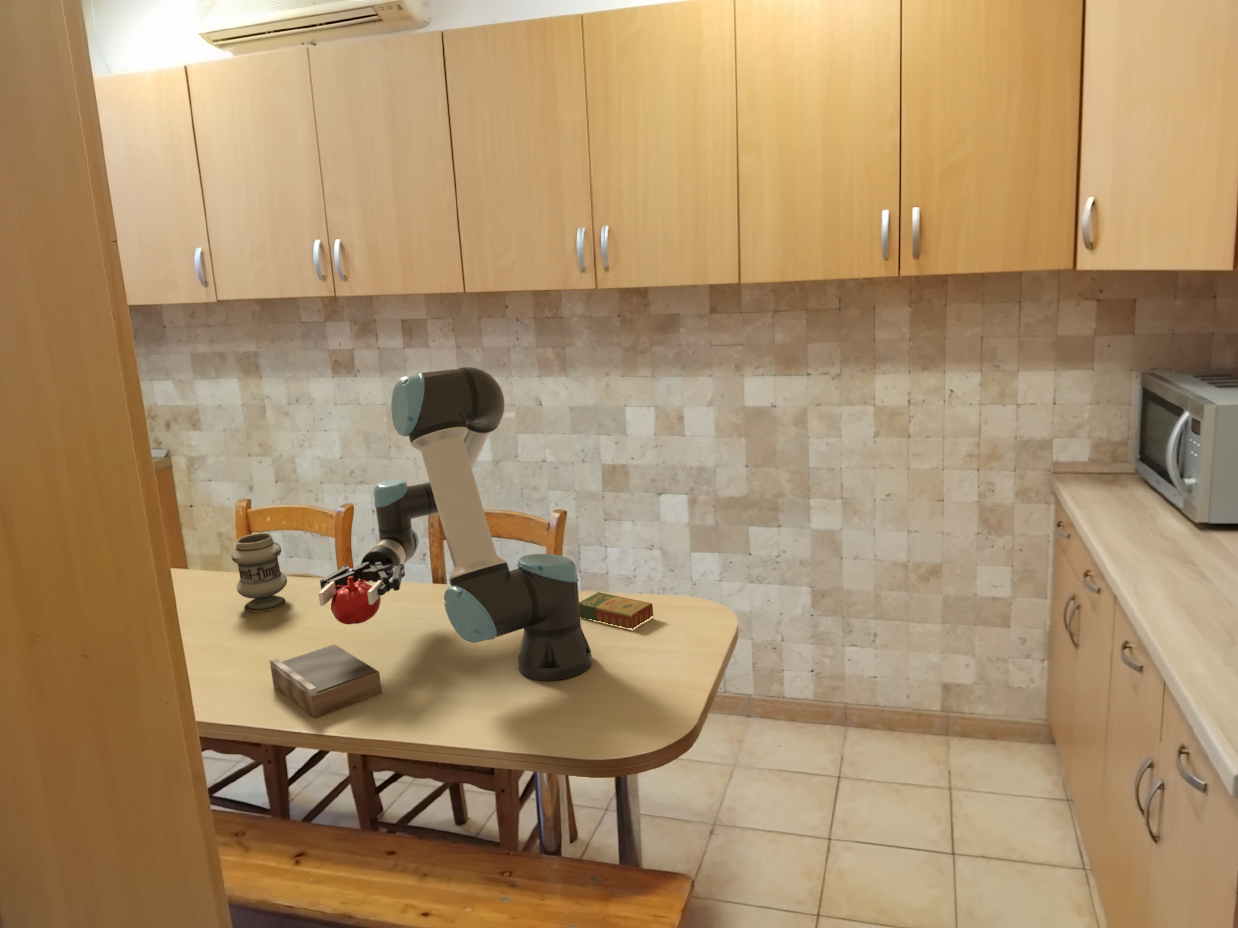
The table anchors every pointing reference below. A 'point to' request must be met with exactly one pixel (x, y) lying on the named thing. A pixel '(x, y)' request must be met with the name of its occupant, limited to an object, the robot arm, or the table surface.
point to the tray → (325, 680)
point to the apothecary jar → (259, 571)
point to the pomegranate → (353, 603)
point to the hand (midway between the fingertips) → (345, 598)
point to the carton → (615, 610)
